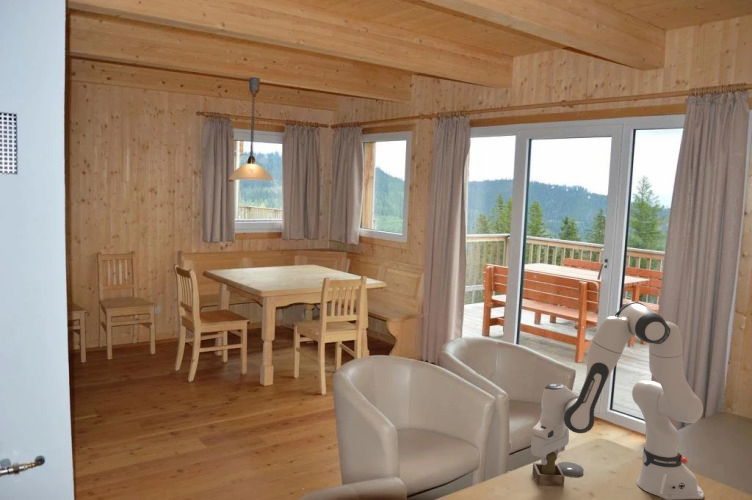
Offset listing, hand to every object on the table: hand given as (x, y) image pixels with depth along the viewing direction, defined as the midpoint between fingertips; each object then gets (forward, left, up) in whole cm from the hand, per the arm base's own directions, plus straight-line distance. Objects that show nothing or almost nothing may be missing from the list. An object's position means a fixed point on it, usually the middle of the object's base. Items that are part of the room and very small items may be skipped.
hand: (549, 461), depth 233 cm
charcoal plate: (-10, -9, -7) cm, 16 cm away
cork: (0, 0, -7) cm, 7 cm away
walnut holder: (0, 0, -7) cm, 7 cm away
